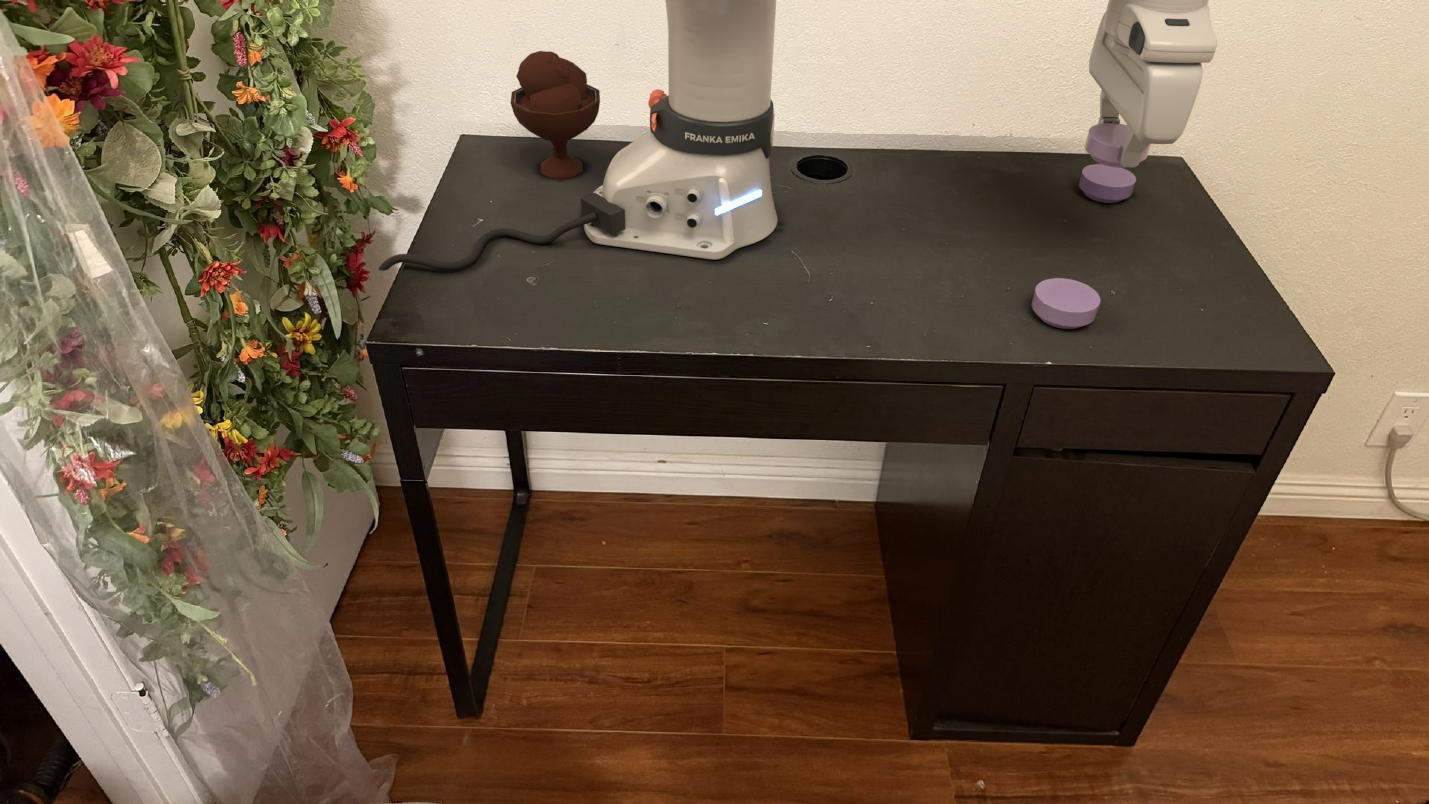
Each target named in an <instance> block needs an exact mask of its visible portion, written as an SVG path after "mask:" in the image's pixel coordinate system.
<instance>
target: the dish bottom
mask: <svg viewBox="0 0 1429 804" xmlns="http://www.w3.org/2000/svg"><path fill="white" fill-rule="evenodd" d="M1136 182H1137V177H1136V176H1135V174H1134V173H1132V172H1131V171H1130V170H1128V169H1127V168H1117V167H1110V166H1106V165H1103V164H1100V163H1094V164H1093V163H1092V164H1089V165H1086V166H1085V167H1083V168H1082V170H1081V174H1080V177H1079V181H1078V187H1079V189H1080V190H1081V191H1082V192H1083V194H1084V195H1085V197H1087V198H1089V199H1090V200H1093V201H1095V202H1098V203H1104V204H1116V203H1120V202H1121V201H1123V200H1127V199H1128V198H1130V197H1131V196H1132V195H1133V192H1134V189H1135V186H1136V184H1137V183H1136Z"/></svg>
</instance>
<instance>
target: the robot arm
mask: <svg viewBox="0 0 1429 804" xmlns="http://www.w3.org/2000/svg"><path fill="white" fill-rule="evenodd" d="M1209 1H1210V0H1108V1H1107V2H1108V3H1107V7H1106V10H1105V12H1104V13H1103V15H1102V18H1101V20H1100V23H1099V26H1098V28H1097V31H1096V35H1095V38H1094V41H1093V44H1092V48H1091V51H1090V55H1089V60H1088V73H1089V74H1090V76H1091V77H1092V78H1093V80H1094V81H1095V82H1096V84H1097V85H1098V86H1099V88H1100V89H1101V91H1100V95H1099V119H1098V122H1097V124H1102V123H1119V124H1121V119H1120V118H1119V117H1121V118H1122V120H1123V121H1124V123H1125V125H1128V126H1129V130H1128V135H1129V138H1128V140H1127V142H1126V144H1125V145H1121V147H1120V151H1119V155H1118V160H1119V162H1120V163H1121V165H1122V166H1123V167H1125V168H1137V167H1138V166H1139V164H1140V163H1141V162H1140V159H1141V156H1142V153H1143V151H1144V150H1145V149H1146V147H1147V146H1148V145H1149V144H1151V145H1173V144H1174V143H1176V141H1177V140H1178V139H1179V138H1181V136H1182V135H1183V133H1184V131H1185V129H1186V127H1187V124H1188V122H1189V119H1190V117H1191V114H1192V111H1193V108H1194V106H1195V103H1196V101H1197V97H1198V93H1199V90H1200V87H1201V84H1202V78H1203V65H1202V64H1205V63H1207V64H1208V63H1211V62H1212V60H1213V58H1214V57H1215V54H1216V50H1217V46H1218V40H1217V37H1216V34H1215V31H1214V29H1213V26H1212V23H1211V17H1210V7H1209V5H1208V4H1209ZM665 9H666V19H667V20H666V22H667V42H668V43H667V58H668V59H667V64H668V66H667V70H668V71H667V72H668V74H667V75H668V76H667V77H668V79H667V81H668V82H667V83H668V94H666V93H665V91H664V90H663V89H660V88H657V89H653V90H652V91H651V93H650V94H649V97H648V103H647V104H648V107H649V131H647V132H646V133H644V134H643V135H641V136H639V137H638V138H637V139H635V140H634V141H632V142H630V143H629V144H628V145H626V146H625V147H623V148H622V149H620V150H618V152H616V154H615V155H613V156H614V157H613V158H612V159H611V161H610V162H609V164H608V167H607V169H606V172H605V175H604V179H603V182H602V183H603V184H602V185H600V186H599V187H598V188H596V189H595V190H594V191H593V192H592V193H590V194H587V195H584V196H582V197H580V208H581V217H578V218H576V219H572V220H570V221H567V222H566V223H564V224H561V225H560V226H558V227H557V228H556V229H554V230H553V231H552V232H551V233H549V234H547V235H543V236H541V235H532V234H528V233H526V232H523V231H520V230H517V229H513V228H507V227H506V228H505V227H504V228H503V227H501V228H495V229H492V230H489V231H487V232H485V233H484V234H483V235H481V236H480V237H479V238H478V240H477V241H476V243H475V245H474V248H473V249H472V251H471V253H470V254H469V255H468V256H466V257H465V258H462V259H459V260H455V261H442V260H436V259H432V258H428V257H425V256H422V255H417V254H411V253H399V254H395V255H392V256H390V257H388V258H386V259H385V261H383V262H382V263H381V264H380V266H379V267H378V271H381V272H385V271H388V270H389V269H390V268H391V267H393V266H395V265H398V264H400V263H411V264H415V265H420V266H424V267H428V268H430V269H435V270H441V271H457V270H462V269H464V268H467V267H469V266H471V265H472V264H474V263H475V262H476V261H477V260H478V259H479V257H480V256H481V254H482V252H483V250H484V248H485V246H486V244H487V243H488V242H490V241H491V240H492V239H496V238H500V237H501V238H502V237H509V238H514V239H516V240H520V241H522V242H525V243H529V244H533V245H547V244H551V243H553V242H555V241H556V240H558V239H559V238H560V237H561V236H563V235H564V234H565V233H567V232H570V231H572V230H574V229H577V228H579V227H581V226H583V230H584V232H585V234H586V236H587V237H588V239H589V240H590V241H591V242H592V243H594V244H597V245H604V246H611V247H617V248H618V247H619V248H625V249H633V250H639V251H647V252H654V253H655V252H656V253H661V254H669V255H675V256H676V255H677V256H684V257H685V256H686V257H690V258H691V257H692V258H698V259H706V260H714V261H715V260H721V259H725V258H726V257H727V256H729V255H730V254H732V253H733V252H735V251H736V250H738V249H740V248H743V247H747V246H749V245H753V244H756V243H757V242H761V241H762V240H764V239H765V238H767V237H768V236H770V235H771V234H772V233H773V232H774V231H775V229H776V228H777V225H778V220H779V219H778V215H777V211H776V206H775V201H774V197H773V191H772V182H771V169H770V156H771V153H772V149H773V146H774V137H775V136H774V135H775V110H774V101H773V100H772V99H771V98H772V83H773V82H772V81H773V80H772V79H773V65H774V63H773V62H774V49H775V47H774V46H775V29H776V13H777V11H776V10H777V0H665Z"/></svg>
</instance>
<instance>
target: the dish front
mask: <svg viewBox="0 0 1429 804" xmlns="http://www.w3.org/2000/svg"><path fill="white" fill-rule="evenodd" d="M1100 305H1101V297H1100V294H1099V293H1098V292H1097V291H1096V290H1095V289H1094V288H1093V287H1091V286H1090V285H1088V284H1086V283H1084V282H1081V281H1078V280H1074V279H1070V278H1064V277H1054V278H1052V277H1051V278H1047V279H1044V280H1042V281H1040V282H1039V283H1038V284H1036V286H1035V288H1034V292H1033V295H1032V300H1031V308H1032V310H1033V312H1034V313H1035V314H1036V315H1037V316H1038V317H1039V318H1040V319H1041V321H1042V322H1044V323H1045V324H1047V325H1049V326H1051V327H1054V328H1058V329H1062V330H1063V329H1064V330H1075V329H1079V328H1081V327H1084V326H1087V325H1089V324H1091V323H1092V322H1094V321H1095V320H1096V317H1097V315H1098V311H1099V308H1100Z"/></svg>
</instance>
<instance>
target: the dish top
mask: <svg viewBox="0 0 1429 804" xmlns="http://www.w3.org/2000/svg"><path fill="white" fill-rule="evenodd" d="M1128 130H1129V126H1128V125H1127V124H1126V123H1120V124H1119V123H1102V124H1098V123H1097V124H1094V125H1092V126H1091V127H1089V129H1088V131H1087V135H1086V139H1085V144H1084V150H1085V151H1086V153H1088V155H1090V158H1091V159H1092V160H1093V161H1094V162H1096V163H1097V164H1103V165H1106V166H1110V167H1117V168H1124V169H1126V167H1123V166H1122V165H1121V163H1120V162H1119V160H1118V155H1119V151H1120V147H1121V145H1125V144H1126V142H1127V140H1128V138H1129V135H1128ZM1151 146H1152V144H1149V145H1148V146H1147V147H1146V149H1145V150H1144V151H1143V153H1142V156H1141V159H1140V162H1139V163H1141V162H1143V161H1145V160H1146V159H1147V158H1148V156H1149V152H1150V149H1151Z"/></svg>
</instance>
